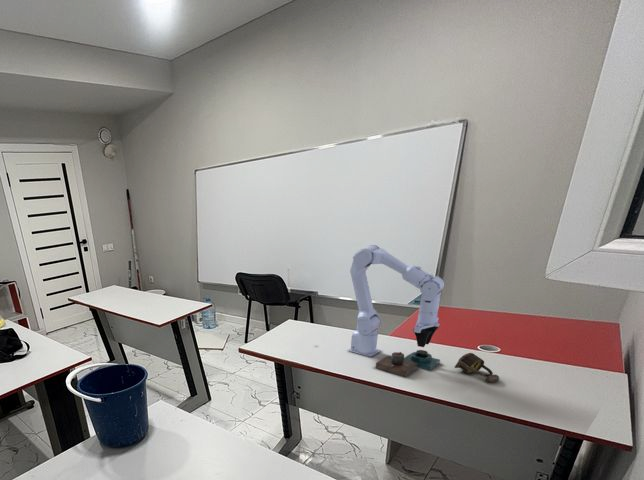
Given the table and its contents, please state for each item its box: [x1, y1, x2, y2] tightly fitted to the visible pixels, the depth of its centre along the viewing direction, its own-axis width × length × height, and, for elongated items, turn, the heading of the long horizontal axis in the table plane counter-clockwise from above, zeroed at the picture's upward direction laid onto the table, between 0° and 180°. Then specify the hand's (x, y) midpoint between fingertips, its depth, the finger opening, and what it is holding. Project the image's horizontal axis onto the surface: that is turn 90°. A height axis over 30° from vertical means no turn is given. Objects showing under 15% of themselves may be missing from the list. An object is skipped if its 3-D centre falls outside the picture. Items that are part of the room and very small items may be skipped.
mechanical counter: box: [454, 352, 500, 383], centre depth 125 cm, size 7×13×10 cm
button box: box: [404, 351, 441, 371], centre depth 138 cm, size 10×8×4 cm
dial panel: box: [375, 354, 419, 378], centre depth 136 cm, size 11×9×3 cm
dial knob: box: [391, 351, 405, 365], centre depth 135 cm, size 4×4×4 cm
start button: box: [415, 349, 429, 357], centre depth 137 cm, size 4×4×2 cm
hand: (423, 345), depth 136 cm, fingers open, 3 cm apart
